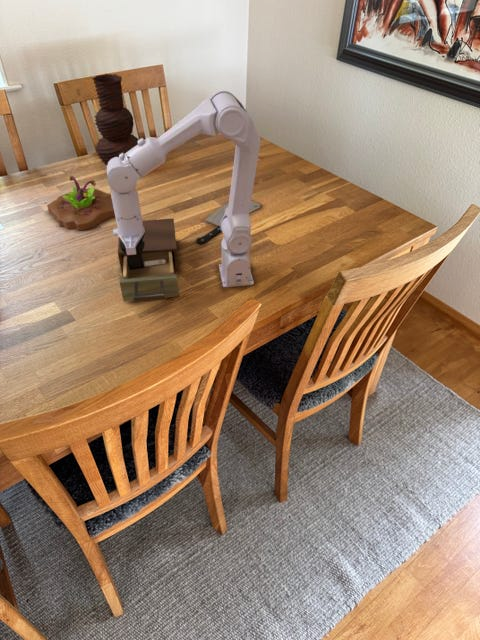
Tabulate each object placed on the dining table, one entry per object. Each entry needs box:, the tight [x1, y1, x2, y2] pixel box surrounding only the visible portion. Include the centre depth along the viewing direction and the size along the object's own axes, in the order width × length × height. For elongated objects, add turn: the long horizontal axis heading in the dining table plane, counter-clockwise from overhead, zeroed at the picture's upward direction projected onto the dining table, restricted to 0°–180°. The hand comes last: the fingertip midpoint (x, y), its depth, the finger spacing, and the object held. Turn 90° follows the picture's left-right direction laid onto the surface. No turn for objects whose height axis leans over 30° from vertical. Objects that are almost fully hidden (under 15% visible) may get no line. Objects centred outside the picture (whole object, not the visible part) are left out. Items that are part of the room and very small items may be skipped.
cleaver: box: [195, 200, 261, 245], centre depth 141 cm, size 29×1×10 cm
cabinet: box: [117, 217, 180, 277], centre depth 124 cm, size 15×15×8 cm
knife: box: [127, 255, 166, 270], centre depth 112 cm, size 9×2×3 cm, turn 99°
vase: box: [91, 73, 140, 166], centre depth 155 cm, size 15×15×30 cm
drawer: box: [119, 251, 180, 302], centre depth 113 cm, size 19×13×6 cm
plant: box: [46, 175, 115, 231], centre depth 140 cm, size 20×20×11 cm
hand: (136, 262), depth 112 cm, fingers closed on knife, 2 cm apart
